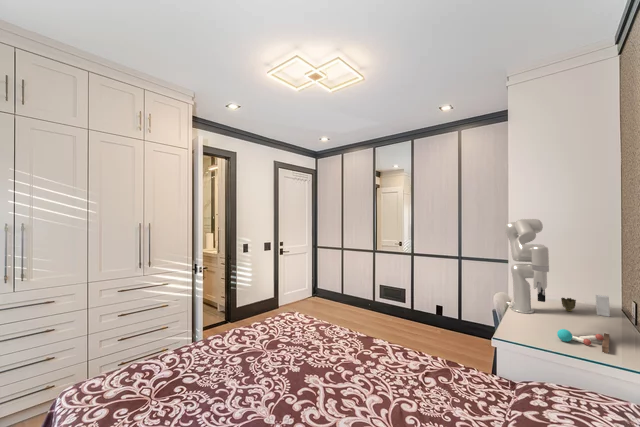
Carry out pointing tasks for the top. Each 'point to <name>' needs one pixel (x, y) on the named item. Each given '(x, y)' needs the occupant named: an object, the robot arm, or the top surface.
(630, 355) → the top surface
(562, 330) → the ball
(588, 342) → the pin
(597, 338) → the pin
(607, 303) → the skincare box
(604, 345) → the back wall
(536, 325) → the top surface
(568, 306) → the cup
